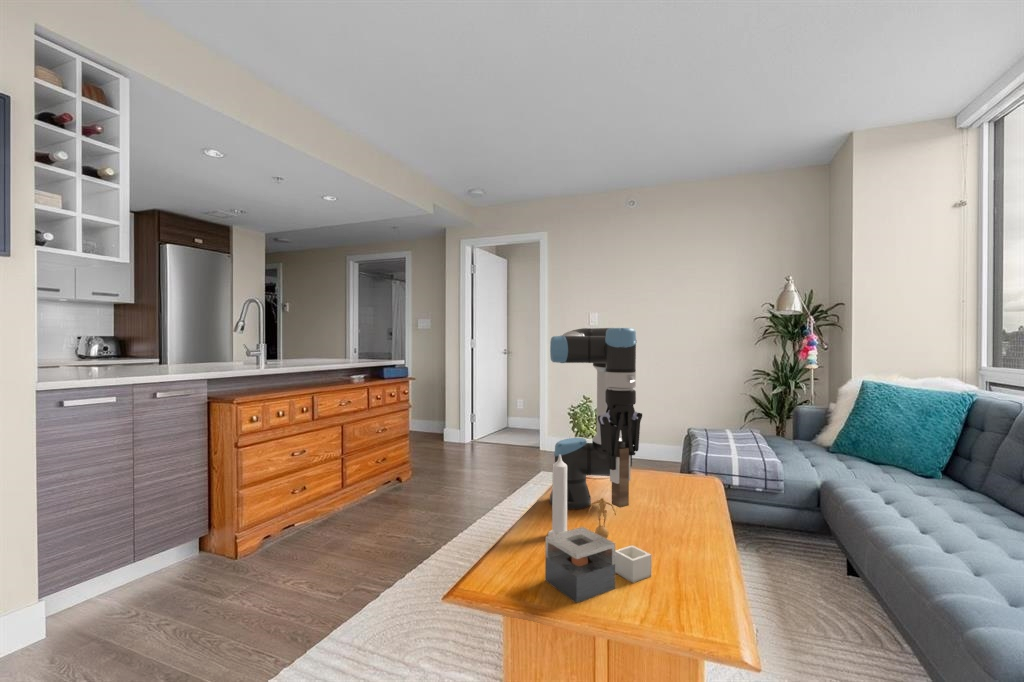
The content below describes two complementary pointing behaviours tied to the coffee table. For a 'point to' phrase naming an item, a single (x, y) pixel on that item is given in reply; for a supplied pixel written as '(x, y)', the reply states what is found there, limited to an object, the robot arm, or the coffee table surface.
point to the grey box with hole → (584, 578)
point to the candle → (559, 497)
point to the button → (580, 561)
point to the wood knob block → (622, 478)
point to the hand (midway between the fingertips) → (620, 480)
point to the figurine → (602, 529)
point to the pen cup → (632, 563)
